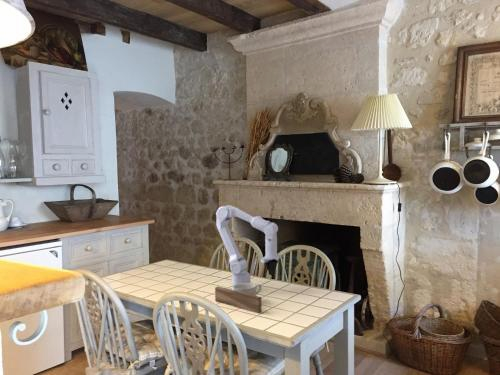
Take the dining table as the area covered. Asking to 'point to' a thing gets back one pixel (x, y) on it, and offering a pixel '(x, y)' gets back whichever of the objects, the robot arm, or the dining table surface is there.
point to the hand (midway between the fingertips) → (271, 274)
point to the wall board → (238, 299)
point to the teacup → (247, 288)
